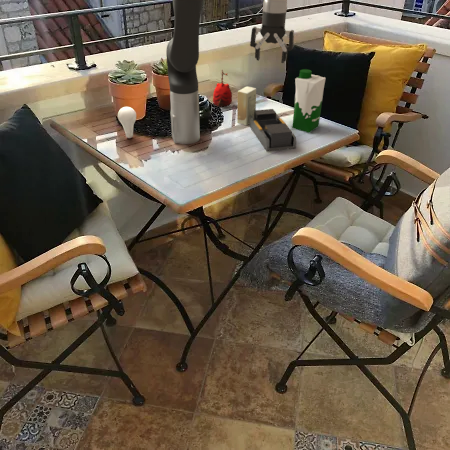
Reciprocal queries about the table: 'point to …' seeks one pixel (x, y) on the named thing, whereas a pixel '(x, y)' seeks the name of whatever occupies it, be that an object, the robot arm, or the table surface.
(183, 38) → the robot arm
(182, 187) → the table surface
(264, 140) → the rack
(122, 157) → the table surface
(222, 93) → the red clay folk toy
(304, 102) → the milk carton
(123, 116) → the lightbulb
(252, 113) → the skincare box
